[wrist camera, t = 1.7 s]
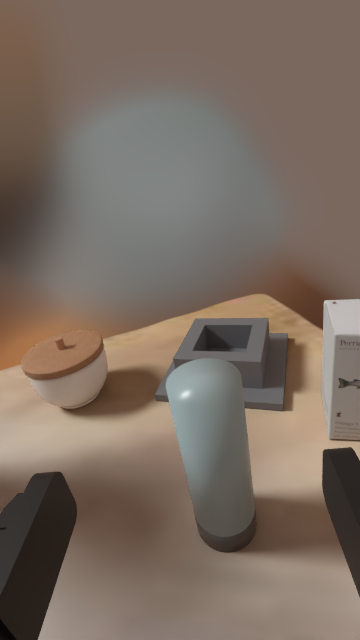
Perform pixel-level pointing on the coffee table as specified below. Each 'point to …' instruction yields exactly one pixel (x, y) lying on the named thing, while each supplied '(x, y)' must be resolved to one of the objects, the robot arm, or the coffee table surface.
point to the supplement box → (341, 368)
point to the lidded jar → (67, 368)
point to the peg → (214, 450)
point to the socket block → (239, 357)
